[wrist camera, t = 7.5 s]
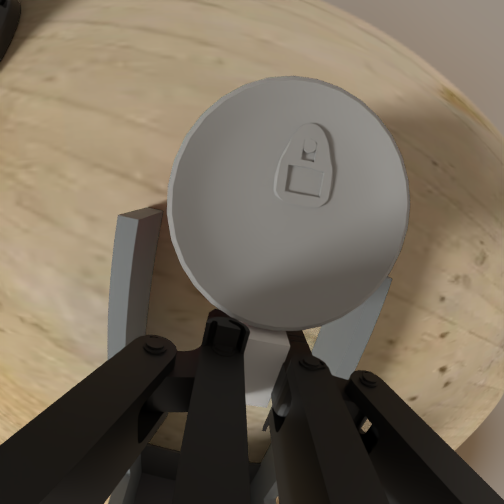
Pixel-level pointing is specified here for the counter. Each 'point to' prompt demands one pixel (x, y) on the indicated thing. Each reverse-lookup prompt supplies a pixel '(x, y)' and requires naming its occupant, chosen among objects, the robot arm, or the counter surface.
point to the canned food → (288, 203)
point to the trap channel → (134, 325)
